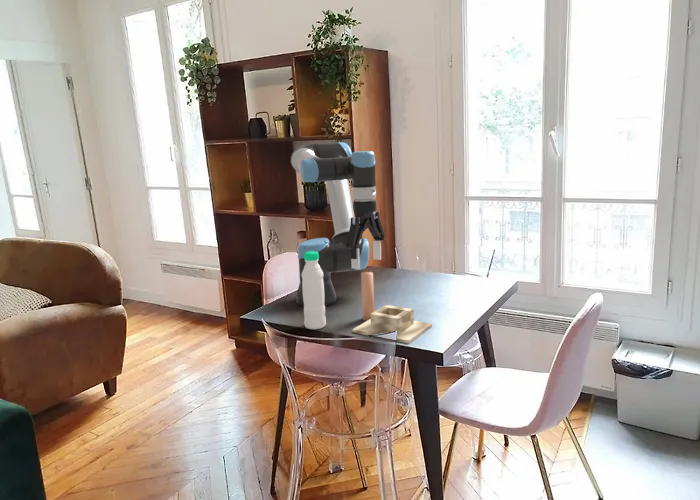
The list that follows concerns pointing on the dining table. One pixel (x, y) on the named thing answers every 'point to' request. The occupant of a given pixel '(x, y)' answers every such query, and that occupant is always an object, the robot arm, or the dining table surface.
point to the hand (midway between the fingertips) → (366, 263)
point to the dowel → (367, 294)
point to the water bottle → (313, 292)
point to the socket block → (394, 323)
